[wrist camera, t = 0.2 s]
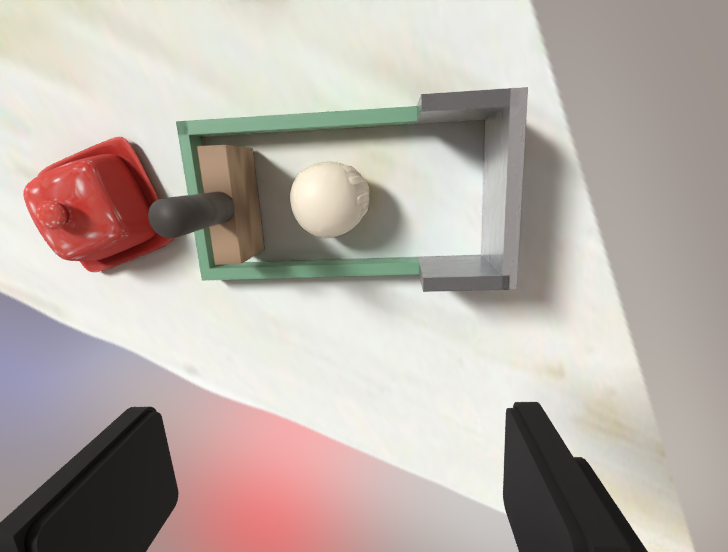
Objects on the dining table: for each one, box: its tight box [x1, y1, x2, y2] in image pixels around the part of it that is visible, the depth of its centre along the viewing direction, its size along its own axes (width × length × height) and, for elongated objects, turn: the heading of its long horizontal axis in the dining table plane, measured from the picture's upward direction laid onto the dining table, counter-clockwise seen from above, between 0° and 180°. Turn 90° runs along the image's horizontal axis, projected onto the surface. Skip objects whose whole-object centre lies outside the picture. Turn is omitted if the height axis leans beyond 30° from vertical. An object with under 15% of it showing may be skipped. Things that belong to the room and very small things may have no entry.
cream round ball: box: [290, 162, 369, 238], centre depth 36 cm, size 7×7×7 cm
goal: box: [416, 87, 528, 292], centre depth 34 cm, size 15×8×8 cm, turn 3°
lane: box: [176, 106, 419, 280], centre depth 38 cm, size 15×22×2 cm
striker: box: [148, 145, 264, 265], centre depth 32 cm, size 10×3×14 cm, turn 3°
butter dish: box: [24, 137, 174, 272], centre depth 37 cm, size 12×12×8 cm
